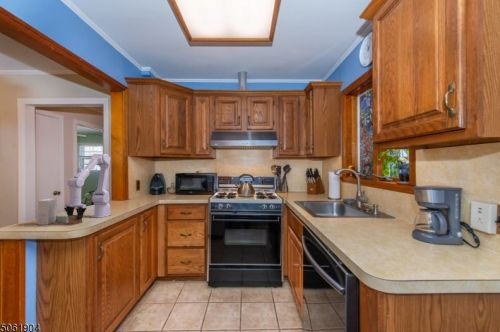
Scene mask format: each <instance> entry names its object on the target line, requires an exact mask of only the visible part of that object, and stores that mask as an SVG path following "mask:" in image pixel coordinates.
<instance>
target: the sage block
mask: <svg viewBox="0 0 500 332" xmlns="http://www.w3.org/2000/svg"><path fill="white" fill-rule="evenodd" d="M75 214H77V212H76V213H75V212H73V215H75ZM65 222H66V223H68V215H67V212H65V213H61V214H60V213H59V214H56V222H55V223H65Z"/></svg>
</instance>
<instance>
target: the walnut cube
mask: <svg viewBox="0 0 500 332" xmlns="http://www.w3.org/2000/svg"><path fill="white" fill-rule="evenodd" d="M82 223H83V218H82V219H80V220H78V216H77V214H75V215H70V216H68V222H67V224H69V225H77V224H82Z"/></svg>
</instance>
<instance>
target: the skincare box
mask: <svg viewBox="0 0 500 332" xmlns="http://www.w3.org/2000/svg"><path fill="white" fill-rule="evenodd" d="M57 202H58V201H57V198H43V199H40V200H37V226H39V225H41V226H45V225H46V226H49V225H51V224H53V223H57V222H56V215H57Z"/></svg>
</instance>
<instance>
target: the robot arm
mask: <svg viewBox="0 0 500 332" xmlns="http://www.w3.org/2000/svg"><path fill="white" fill-rule="evenodd" d="M111 159H112V157H110V155H109V154H108V153H93V154H92V155H91V156H90V160H89V161H88V163H87V164H86V166H85V167H84V168H80V169H79V170H78V172H77V173H76V174H75V175H74V177H71V178H69V179H68V181H67V185H68V188H69V203H68V202H67V203H64V206H65V207H64V208H63V210H64V211H65V213H67V215H68V216H70V215H73V213H75V212H74V211H76V213H77V216H78V220H80V219H82V220H83V216H84V214H85V212H86V210H87V204H84V203H82V187H83V186H84V184H85V181H86V179H87V178H88V177H89V176H90V175H91V174H90V172H91V171H92V170H93V169H94V168H95V167H96V166H99V167H100V169H99V176H98V182H97V189H96V190H95V191H94V192H93V193H92V194H93V195H92V196H91V202H92V203H93V205H94V215H91V216H90V217H91V218H100V219H101V218H106V217H108V216H112V214H111V204H110V203H109V201H110V199H111V197H110V192H109V191H107V188H108V187H107V186H108V181H109V180H108V179H109V172H110V167H111Z"/></svg>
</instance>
